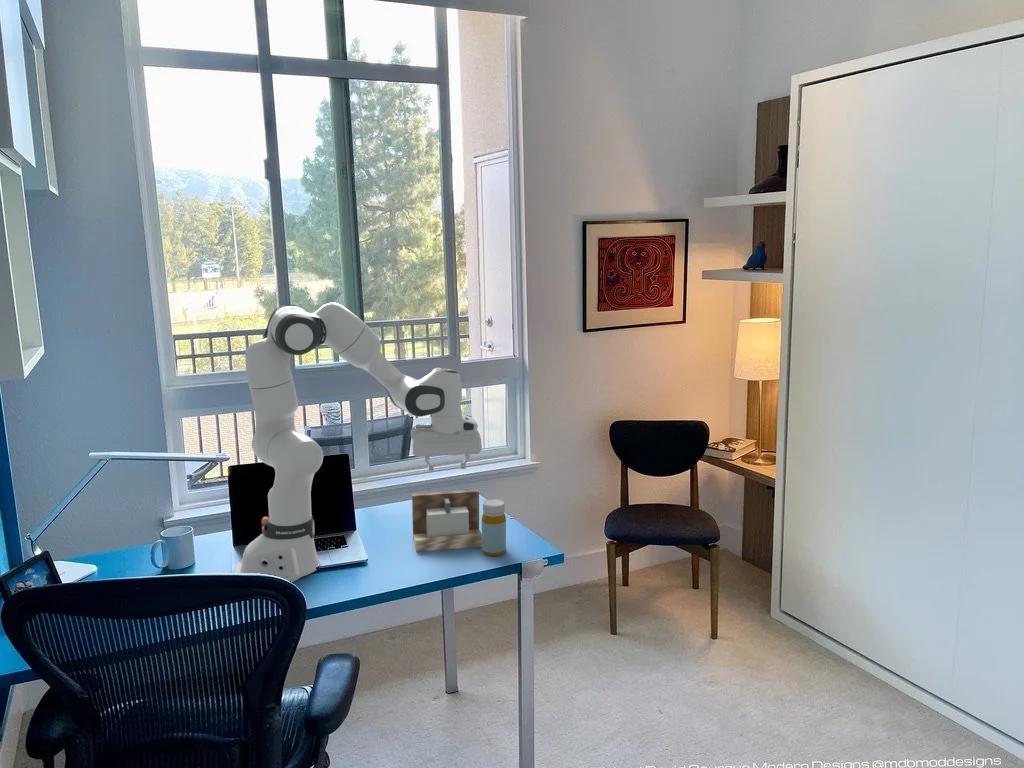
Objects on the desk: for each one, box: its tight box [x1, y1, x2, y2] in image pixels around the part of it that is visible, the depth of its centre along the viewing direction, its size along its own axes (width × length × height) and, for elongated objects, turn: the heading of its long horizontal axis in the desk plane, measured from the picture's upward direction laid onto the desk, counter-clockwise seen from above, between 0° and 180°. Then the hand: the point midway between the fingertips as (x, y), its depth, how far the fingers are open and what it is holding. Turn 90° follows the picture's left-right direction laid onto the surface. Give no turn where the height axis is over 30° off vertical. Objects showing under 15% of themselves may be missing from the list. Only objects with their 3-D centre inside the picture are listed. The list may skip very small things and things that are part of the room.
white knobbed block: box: [426, 499, 469, 538], centre depth 224 cm, size 12×5×11 cm, turn 102°
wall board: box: [411, 488, 482, 553], centre depth 225 cm, size 20×10×14 cm, turn 102°
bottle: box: [481, 498, 507, 557], centre depth 218 cm, size 7×7×15 cm
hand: (446, 469), depth 221 cm, fingers open, 8 cm apart
